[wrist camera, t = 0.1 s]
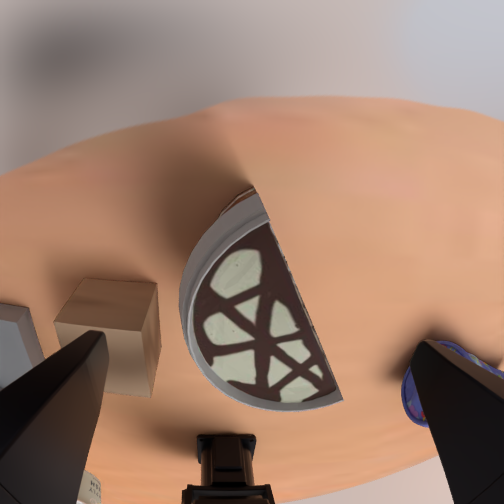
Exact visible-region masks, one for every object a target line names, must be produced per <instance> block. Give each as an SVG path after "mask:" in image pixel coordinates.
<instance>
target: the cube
mask: <svg viewBox="0 0 504 504" xmlns="http://www.w3.org/2000/svg"><path fill="white" fill-rule="evenodd" d="M54 325H55V329H56V333H57V336H58V339H59V343H60V346H61V348H63V347H64V346H66V345H67V344H69V343H70V342H72V341H73V340H75V339H76V338H78V337H79V336H81V335H82V334H84V333H85V332H87V331H88V330H98V331H103V332H104V333H105V335H106V340H107V346H108V351H109V366H108V371H107V376H106V382H105V387H104V392H107V393H114V394H122V395H130V396H138V397H147V398H151V396H152V390H153V385H154V380H155V375H156V370H157V365H158V360H159V355H160V351H161V334H160V321H159V307H158V290H157V283H143V282H128V281H114V280H101V279H88V278H84V279H83V280H82V282H81V283H80V284H79V286H78V287H77V289H76V290H75V291H74V293H73V294H72V296H71V297H70V298H69V300H68V301H67V303H66V304H65V305H64V307H63V308H62V310H61V311H60V313H59V314H58V316H57V317H56V319H55V320H54Z"/></svg>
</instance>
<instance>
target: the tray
mask: <svg viewBox="0 0 504 504" xmlns="http://www.w3.org/2000/svg"><path fill="white" fill-rule="evenodd" d="M44 360H45V358H44V355H43V352H42V350H41V347H40V344H39V341H38V338H37V335H36V331H35V328H34V325H33V322H32V318H31V315H30V311H29V308H26V307H20V306H14V305H8V304H2V303H0V390H2V389H3V388H5V387H6V386H8V385H9V384H10V383H12V382H13V381H15V380H16V379H18V378H19V377H20V376H22V375H23V374H25V373H26V372H28V371H29V370H31V369H32V368H33V367H35V366H36V365H38V364H39V363H41V362H42V361H44Z"/></svg>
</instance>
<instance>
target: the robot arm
mask: <svg viewBox="0 0 504 504" xmlns="http://www.w3.org/2000/svg"><path fill="white" fill-rule="evenodd" d="M108 366H109V351H108V346H107V340H106V335H105V333H104V332H103V331H98V330H88V331H87V332H85V333H84V334H82V335H81V336H79V337H78V338H76V339H75V340H73V341H72V342H70V343H69V344H67V345H66V346H64V347H63V348H61V349H60V350H58V351H57V352H55V353H54V354H52V355H51V356H50V357H48V358H47V359H45V360H44V361H42V362H41V363H39V364H38V365H36V366H35V367H33V368H32V369H31V370H29V371H28V372H26V373H25V374H23V375H22V376H20V377H19V378H18V379H16V380H15V381H13V382H12V383H10V384H9V385H8V386H6V387H5V388H3V389H2V390H0V504H76V503H77V499H78V494H79V490H80V485H81V481H82V477H83V473H84V468H85V464H86V461H87V457H88V453H89V449H90V445H91V442H92V438H93V434H94V431H95V427H96V424H97V421H98V417H99V413H100V409H101V404H102V398H103V392H104V387H105V382H106V376H107V371H108ZM410 370H411V373H412V376H413V380H414V383H415V387H416V390H417V394H418V397H419V401H420V404H421V407H422V410H423V413H424V415H425V418H426V421H427V423H428V426H429V429H430V431H431V434H432V437H433V440H434V443H435V445H436V448H437V451H438V454H439V457H440V460H441V463H442V466H443V468H444V472H445V475H446V478H447V481H448V485H449V488H450V491H451V495H452V498H453V501H454V504H504V379H502V378H501V377H499V376H497V375H495V374H493V373H492V372H490V371H488V370H486V369H484V368H483V367H481V366H479V365H477V364H475V363H474V362H472V361H470V360H468V359H466V358H465V357H463V356H461V355H459V354H457V353H456V352H454V351H452V350H450V349H448V348H447V347H445V346H443V345H441V344H439V343H437V342H436V341H434V340H422V341H420V342H419V343H418V345H417V348H416V350H415V352H414V354H413V356H412V358H411V360H410ZM255 445H256V437H255V436H252V435H251V436H220V435H198V436H197V448H198V462H199V464H201V486H195V485H190V484H187V489H185V490H182V503H181V504H275V502H274V498H273V494H272V490H271V486H270V484H265V485H258V486H255V485H254V477H253V468H252V460H253V455H254V450H255Z"/></svg>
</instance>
